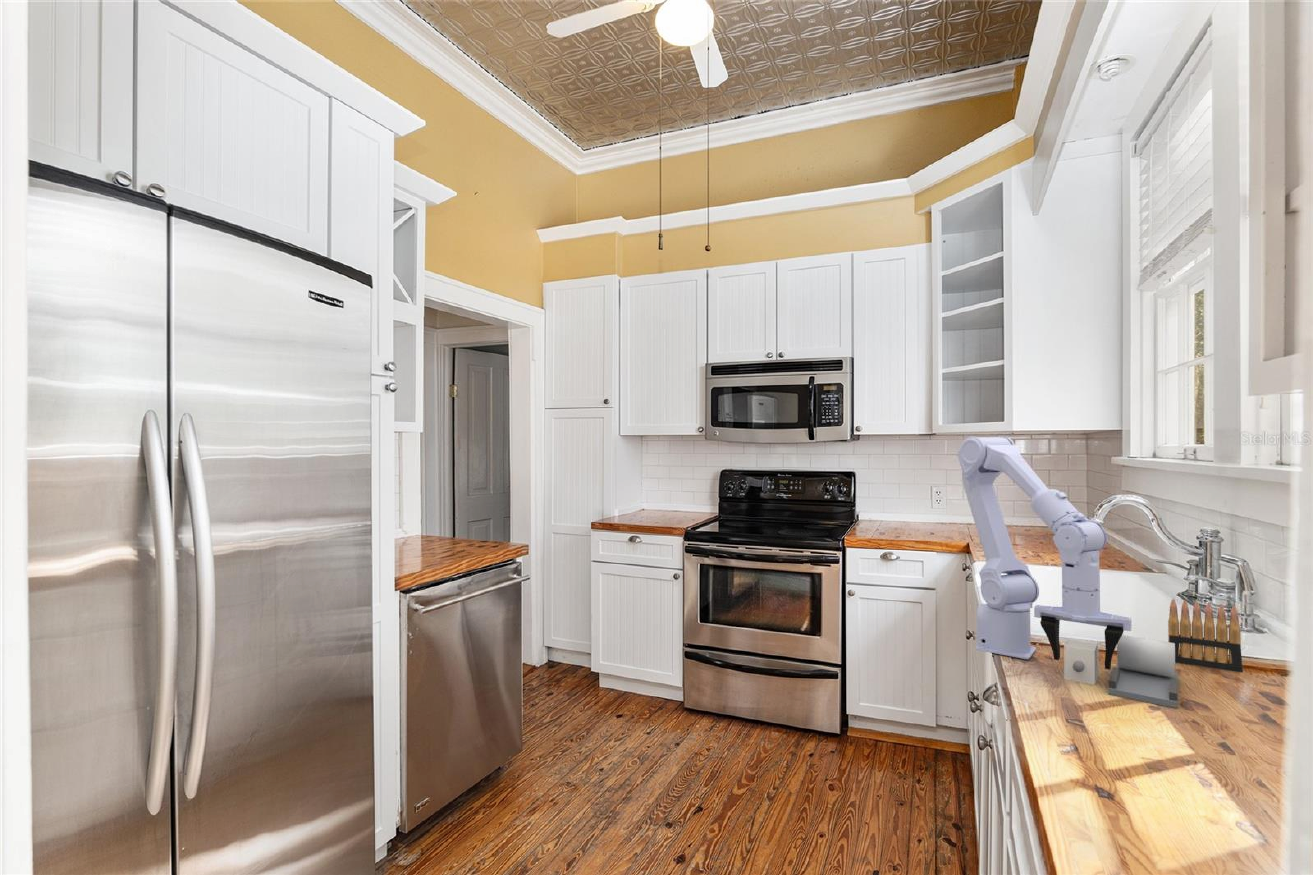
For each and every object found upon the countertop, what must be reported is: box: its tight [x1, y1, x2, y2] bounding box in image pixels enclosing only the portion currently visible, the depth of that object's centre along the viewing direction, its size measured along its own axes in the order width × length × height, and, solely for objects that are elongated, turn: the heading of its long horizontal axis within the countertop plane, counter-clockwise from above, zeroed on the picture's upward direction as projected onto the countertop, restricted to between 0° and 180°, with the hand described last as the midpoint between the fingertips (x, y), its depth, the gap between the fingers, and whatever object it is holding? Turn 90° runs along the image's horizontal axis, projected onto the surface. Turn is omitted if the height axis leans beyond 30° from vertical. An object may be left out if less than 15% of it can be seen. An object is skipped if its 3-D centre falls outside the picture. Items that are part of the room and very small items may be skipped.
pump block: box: [1063, 637, 1100, 686], centre depth 115 cm, size 4×7×6 cm, turn 140°
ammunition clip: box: [1167, 598, 1244, 673], centre depth 121 cm, size 11×2×12 cm, turn 55°
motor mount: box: [1107, 634, 1180, 709], centre depth 110 cm, size 9×16×7 cm, turn 140°
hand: (1081, 663), depth 115 cm, fingers open, 7 cm apart
